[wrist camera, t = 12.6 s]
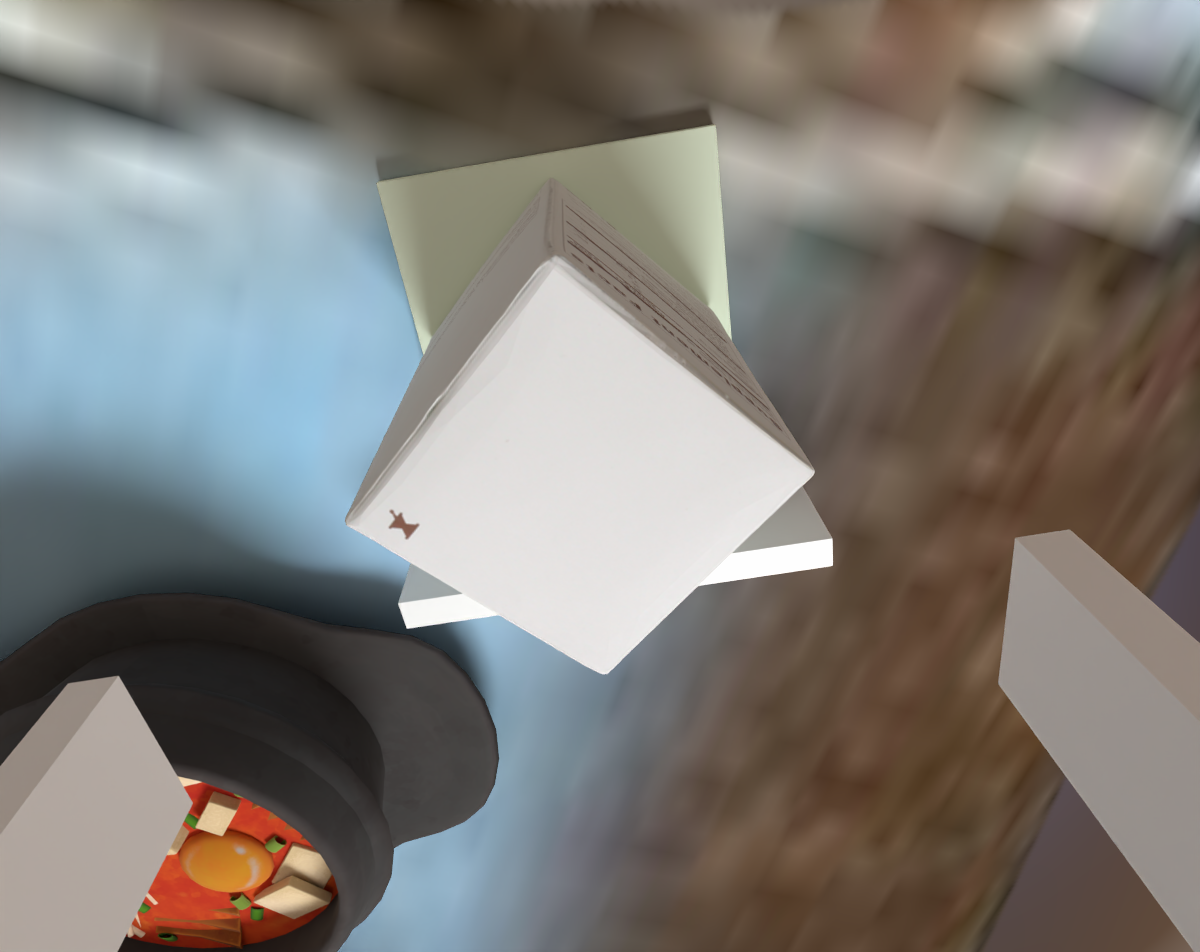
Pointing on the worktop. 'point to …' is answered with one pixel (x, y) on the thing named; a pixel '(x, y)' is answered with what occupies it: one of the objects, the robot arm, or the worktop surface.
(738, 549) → the acrylic wall
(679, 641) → the worktop surface
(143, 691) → the casserole
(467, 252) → the sage mat
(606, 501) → the supplement box
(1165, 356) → the worktop surface
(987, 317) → the worktop surface
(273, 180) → the worktop surface
